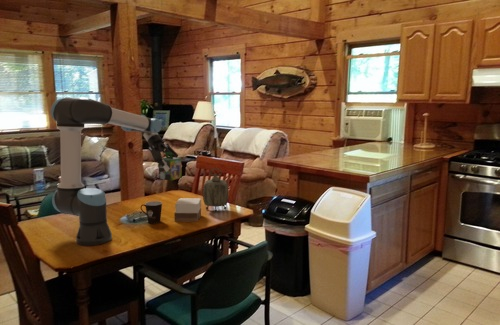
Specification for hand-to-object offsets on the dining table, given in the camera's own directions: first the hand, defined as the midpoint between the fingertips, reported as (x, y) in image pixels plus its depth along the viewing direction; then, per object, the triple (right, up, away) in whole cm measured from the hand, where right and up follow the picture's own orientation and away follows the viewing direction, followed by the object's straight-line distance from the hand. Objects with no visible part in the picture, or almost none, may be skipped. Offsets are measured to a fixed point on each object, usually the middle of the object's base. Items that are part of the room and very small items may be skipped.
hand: (174, 168), depth 212 cm
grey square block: (+8, -27, -1) cm, 28 cm away
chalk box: (-3, -6, +3) cm, 7 cm away
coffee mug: (-10, -28, -6) cm, 30 cm away
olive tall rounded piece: (+22, -25, +13) cm, 36 cm away
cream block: (+8, -22, -1) cm, 24 cm away
